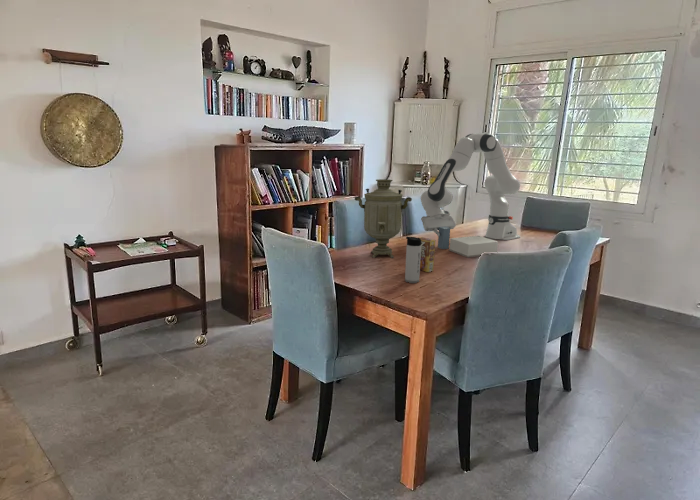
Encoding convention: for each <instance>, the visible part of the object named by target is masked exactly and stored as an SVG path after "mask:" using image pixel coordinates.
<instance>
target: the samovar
mask: <svg viewBox="0 0 700 500" xmlns="http://www.w3.org/2000/svg"><path fill="white" fill-rule="evenodd" d="M375 181H376V183H377V184H376V186H377V188H376V189H374V191H371V192H370V188H366V189H365V191H366V193H364V194H363V195H364V198H365V199H364V200H365V201H364V204H363V200H362V198H361V196H354V200H355V202H356V201H357V202H358V206H359V207H360V208H361V209H363V213H364V216H363V217H364V219H363V221H364V222H363V224H364V225H363V227H364V231H365V232H366V234H367V235H368V236H370V237H371V238H373V239H375V244H377V245H376V246H375V247H373V248H372V249H371V253H372V254H373V255H371V258H372V257H373V259H375V258H376V257H377V256H378V255H385V256H386V255H388V256H389V257H390V258H391V259H394V255H393V254H392V253H393V251H392V250H393V249H392V248H390V247H391V246H388V244H389V243H390V239H393V238H395V237H396V236H397V235H398V234H399V233H400V231H401V229H402V212H403V210H405V209H406V208H407V207H408V205H409V204H408V202H412V200H413V199H412V197H409V196H408V197H406V198H405V199H404V203H403V204H402V201H401V200H402V199H403V193H402V192H403V190H402V189H397V191H398V192H396V191H394V190H392V189H390V187H391V184H392V182H394V181H393V179H385V178H383V179H380V178H379V179H375Z"/></svg>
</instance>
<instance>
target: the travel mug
mask: <svg viewBox="0 0 700 500" xmlns="http://www.w3.org/2000/svg"><path fill="white" fill-rule="evenodd" d="M405 249H406V254H405V271H404V272H405V273H404V281H405V282H406V283H408V282H409V284H418V283H419V282H420V273H421V270H420V258H421V239H420V238H418V237H416V236H406V248H405ZM417 282H418V283H417Z"/></svg>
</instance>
